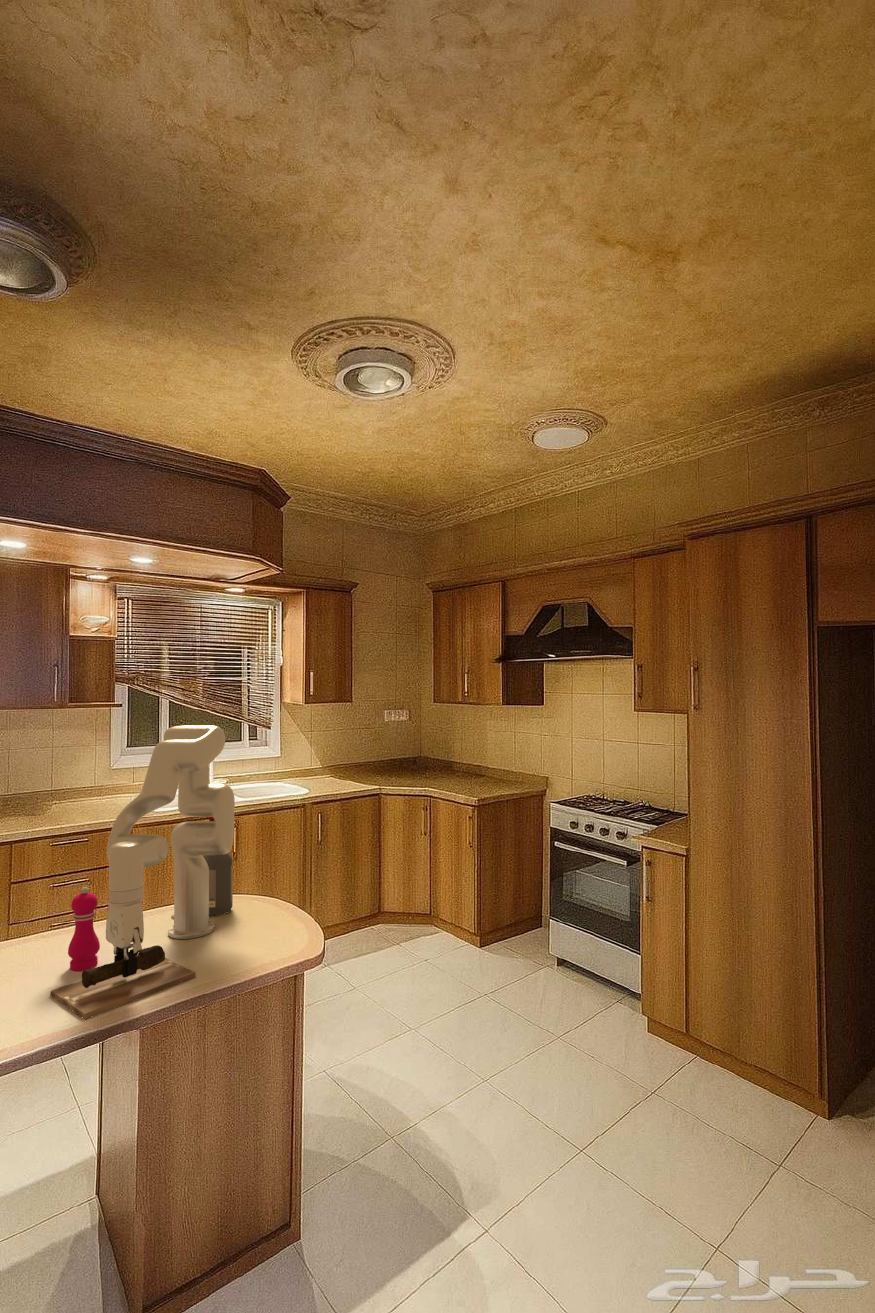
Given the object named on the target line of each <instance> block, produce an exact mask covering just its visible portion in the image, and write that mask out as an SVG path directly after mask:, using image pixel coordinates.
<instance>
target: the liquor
mask: <svg viewBox="0 0 875 1313" xmlns="http://www.w3.org/2000/svg"><path fill="white" fill-rule="evenodd" d="M208 818H209V819H208V821H214V817H208ZM214 822H215V821H214ZM203 857H204V858H205V860H206V862H207V864H208V867H209V918H210V917H218V916H221V915H225V914H228V913H230V912H231V910H232V908H233V888H234V887H233V882H234V881H233V875H234V874H233V871H234V870H233V869H234V868H233V861H234V860H233V857H232V854H231V853H230V852H228V853H227V854H224V855H203ZM227 912H228V913H227ZM224 913H225V914H224Z"/></svg>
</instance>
